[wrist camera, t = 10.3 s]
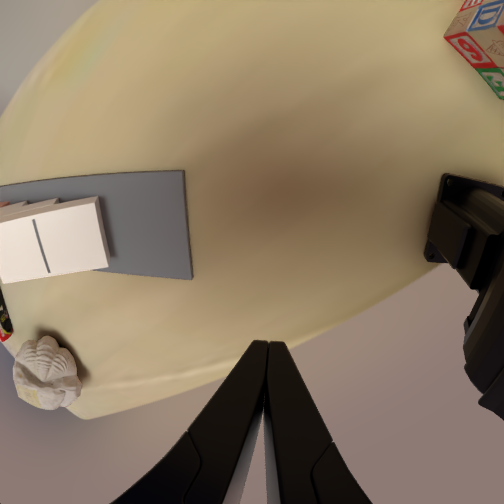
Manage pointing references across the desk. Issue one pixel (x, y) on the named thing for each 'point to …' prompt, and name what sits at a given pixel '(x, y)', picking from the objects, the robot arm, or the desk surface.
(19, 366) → the fossil replica
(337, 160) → the desk surface
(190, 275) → the domino mat
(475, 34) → the stack of blocks
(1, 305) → the race car
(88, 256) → the domino
